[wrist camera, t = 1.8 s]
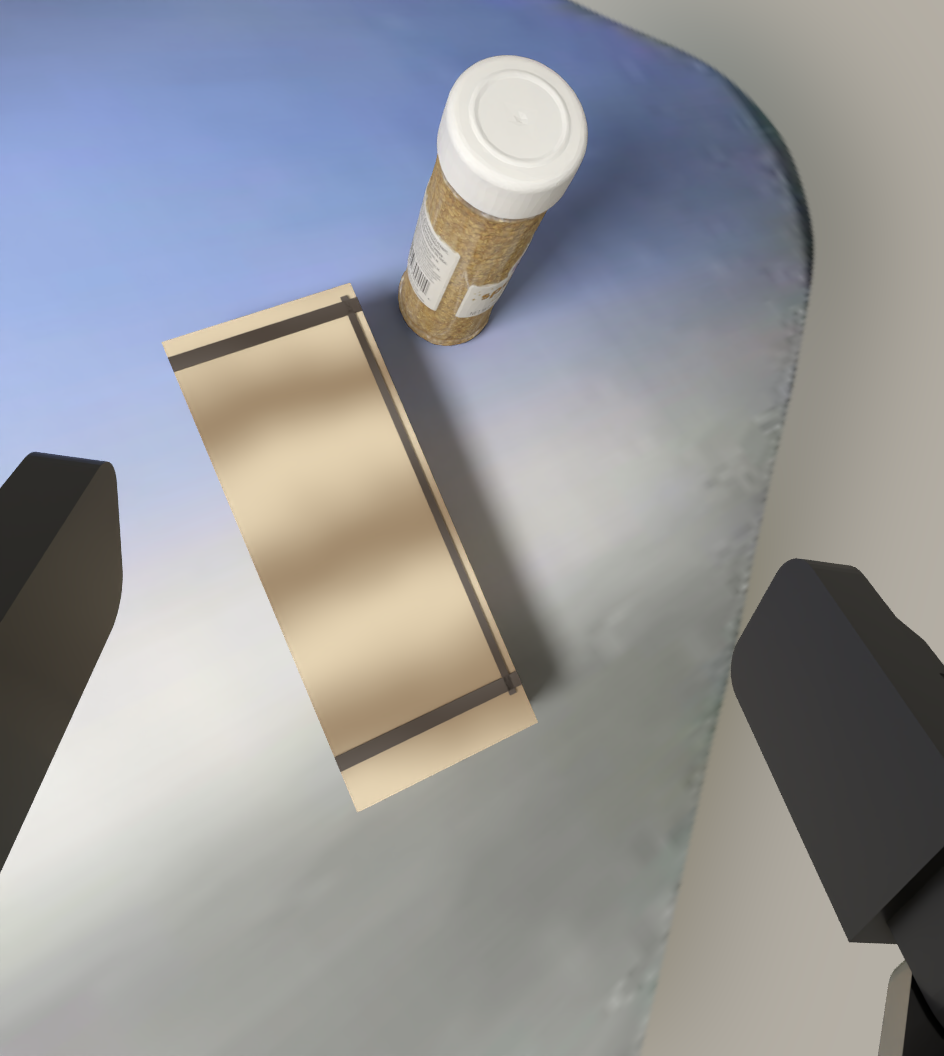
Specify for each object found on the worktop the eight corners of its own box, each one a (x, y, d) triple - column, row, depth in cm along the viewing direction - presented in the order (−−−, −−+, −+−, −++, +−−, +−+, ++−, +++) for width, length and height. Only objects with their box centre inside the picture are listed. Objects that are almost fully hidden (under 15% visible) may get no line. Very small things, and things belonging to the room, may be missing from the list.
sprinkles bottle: (487, 354, 36) (589, 199, 23) (391, 341, 35) (442, 173, 22) (492, 263, 37) (594, 64, 24) (398, 249, 36) (451, 33, 23)
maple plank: (174, 367, 33) (161, 341, 30) (346, 311, 35) (350, 281, 32) (352, 795, 32) (357, 813, 29) (518, 714, 34) (538, 722, 31)
